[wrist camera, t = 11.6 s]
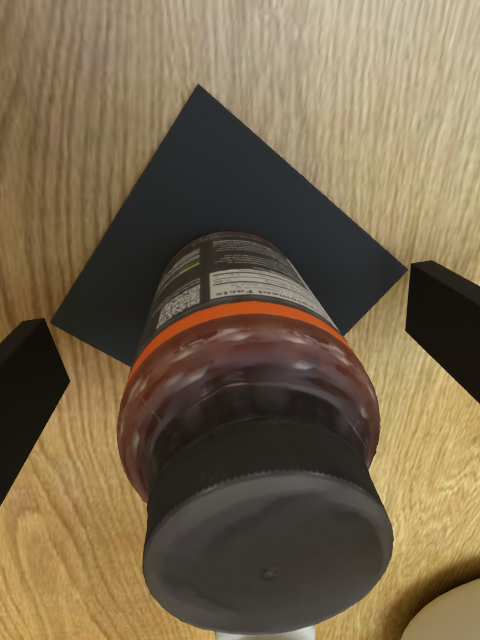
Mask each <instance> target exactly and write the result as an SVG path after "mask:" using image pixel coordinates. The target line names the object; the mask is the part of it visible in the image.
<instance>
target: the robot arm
mask: <svg viewBox="0 0 480 640" xmlns="http://www.w3.org/2000/svg"><path fill="white" fill-rule="evenodd" d="M405 331H406V332H407V333H408V334H409V335H410V336H411V337H412V338H413V339H414V340H415V341H416V342H417V343H418V344H419V345H420V346H421V347H422V348H423V349H424V350H425V351H426V352H427V353H428V354H429V355H430V356H431V357H432V358H433V359H435V360H436V361H437V362H438V363H439V364H440V365H441V366H442V367H443V368H444V369H445V370H446V371H447V372H448V373H449V374H450V375H451V376H452V377H453V378H454V379H455V380H456V381H457V382H458V383H459V384H460V385H461V386H462V387H463V388H464V389H465V390H466V391H467V392H468V393H469V394H470V395H471V396H472V397H473V398H474V399H475V400H476V401H477V402H478V403H479V404H480V286H478V285H476V284H474V283H473V282H471V281H469V280H467V279H465V278H463V277H462V276H460V275H458V274H456V273H454V272H453V271H451V270H449V269H447V268H445V267H443V266H442V265H440V264H438V263H436V262H434V261H432V260H431V261H424V262H417V263H411V269H410V281H409V292H408V304H407V315H406V327H405ZM69 383H70V379H69V377H68V374H67V372H66V369H65V367H64V365H63V362H62V360H61V357H60V355H59V352H58V350H57V348H56V345H55V343H54V340H53V338H52V335H51V333H50V330H49V328H48V326H47V323H46V321H45V318H40V319H33V320H27V321H22V322H21V323H20V324H19V325H18V326H17V327H16V328H15V329H14V330H13V331H12V332H11V333H10V334H9V335H8V336H7V337H6V338H5V339H4V340H3V341H2V342H1V343H0V506H1V504H2V502H3V500H4V499H5V497H6V495H7V493H8V492H9V490H10V488H11V486H12V484H13V483H14V481H15V479H16V477H17V476H18V474H19V472H20V470H21V468H22V467H23V465H24V463H25V461H26V460H27V458H28V456H29V454H30V452H31V451H32V449H33V447H34V445H35V443H36V442H37V440H38V438H39V436H40V435H41V433H42V431H43V429H44V427H45V426H46V424H47V422H48V420H49V419H50V417H51V415H52V413H53V411H54V410H55V408H56V406H57V404H58V403H59V401H60V399H61V397H62V395H63V394H64V392H65V390H66V388H67V387H68V385H69Z"/></svg>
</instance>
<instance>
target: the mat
mask: <svg viewBox="0 0 480 640" xmlns="http://www.w3.org/2000/svg"><path fill="white" fill-rule="evenodd" d="M223 231H234V232H244V233H249V234H252V235H255V236H258V237H260V238H262V239H264V240H266V241H268V242H270V243H271V244H273V245H274V246H275V247H276V248H278V249H279V250H280V251H281V252H282V253H283V255H284V256H285V257H286V258H287V259H288V260H289V261H290V263H291V264H292V265H293V266H294V268H295V269H296V271H297V272H298V274H299V275H300V276H301V278H302V279H303V281H304V282H305V284H306V285H307V286H308V288H309V289H310V291H311V292H312V293H313V295H314V296H315V298H316V299H317V300H318V302H319V303H320V305H321V306H322V307H323V309H324V310H325V312H326V313H327V314H328V316H329V317H330V319H331V320H332V321H333V323H334V324H335V326H336V327H337V329H338V330H339V331H340V333H341V334H342V336H343V337H344V335H345V334H346V333H347V332H348V331H349V330H350V329H351V328H352V327H353V326H354V325H355V324H356V323H357V322H358V321H359V320H360V319H361V318H362V317H363V316H364V315H365V314H366V313H367V312H368V311H369V310H370V309H371V308H372V307H373V306H374V305H375V304H376V303H377V302H378V301H379V299H380V298H381V297H382V296H383V295H384V294H385V293H386V292H387V291H388V290H389V289H390V288H391V287H392V286H393V285H394V284H395V283H396V282H397V281H398V280H399V279H400V278H401V277H402V276H403V275H404V274H405V273H406V272H407V271H408V269H407V268H406V267H405V266H403V265H402V264H401V263H400V262H399V261H398V260H397V259H396V258H394V257H393V256H392V255H391V254H390V253H389V252H388V251H387V250H385V249H384V248H383V247H382V246H381V245H380V244H379V243H377V242H376V241H375V240H374V239H373V238H372V237H371V236H370V235H368V234H367V233H366V232H365V231H364V230H363V229H362V228H361V227H359V226H358V225H357V224H356V223H355V222H354V221H353V220H351V219H350V218H349V217H348V216H347V215H346V214H345V213H344V212H342V211H341V210H340V209H339V208H338V207H337V206H336V205H335V204H333V203H332V202H331V201H330V200H329V199H328V198H327V197H325V196H324V195H323V194H322V193H321V192H320V191H319V190H318V189H316V188H315V187H314V186H313V185H312V184H311V183H310V182H309V181H307V180H306V179H305V178H304V177H303V176H302V175H301V174H299V173H298V172H297V171H296V170H295V169H294V168H293V167H292V166H290V165H289V164H288V163H287V162H286V161H285V160H284V159H283V158H281V157H280V156H279V155H278V154H277V153H276V152H275V151H273V150H272V149H271V148H270V147H269V146H268V145H267V144H266V143H264V142H263V141H262V140H261V139H260V138H259V137H258V136H257V135H255V134H254V133H253V132H252V131H251V130H250V129H249V128H247V127H246V126H245V125H244V124H243V123H242V122H241V121H240V120H238V119H237V118H236V117H235V116H234V115H233V114H232V113H231V112H229V111H228V110H227V109H226V108H225V107H224V106H223V105H222V104H220V103H219V102H218V101H217V100H216V99H215V98H214V97H212V96H211V95H210V94H209V93H208V92H207V91H206V90H205V89H203V88H202V87H201V86H200V85H199V84H198V85H197V87H196V88H195V90H194V92H193V93H192V95H191V96H190V98H189V100H188V101H187V103H186V104H185V106H184V108H183V109H182V111H181V113H180V114H179V116H178V117H177V119H176V121H175V122H174V124H173V125H172V127H171V129H170V130H169V132H168V133H167V135H166V137H165V138H164V140H163V142H162V143H161V145H160V146H159V148H158V150H157V151H156V153H155V154H154V156H153V158H152V159H151V161H150V162H149V164H148V166H147V167H146V169H145V171H144V172H143V174H142V175H141V177H140V179H139V180H138V182H137V183H136V185H135V187H134V188H133V190H132V191H131V193H130V195H129V196H128V198H127V200H126V201H125V203H124V204H123V206H122V208H121V209H120V211H119V212H118V214H117V216H116V217H115V219H114V221H113V222H112V224H111V225H110V227H109V229H108V230H107V232H106V233H105V235H104V237H103V238H102V240H101V241H100V243H99V245H98V246H97V248H96V250H95V251H94V253H93V254H92V256H91V258H90V259H89V261H88V262H87V264H86V266H85V267H84V269H83V270H82V272H81V274H80V275H79V277H78V279H77V280H76V282H75V283H74V285H73V287H72V288H71V290H70V291H69V293H68V295H67V296H66V298H65V299H64V301H63V303H62V304H61V306H60V308H59V309H58V311H57V312H56V314H55V316H54V317H53V319H52V320H51V322H50V323H51V324H53V325H54V326H56V327H58V328H60V329H62V330H64V331H65V332H67V333H69V334H71V335H73V336H75V337H77V338H78V339H80V340H82V341H84V342H86V343H88V344H89V345H91V346H93V347H95V348H97V349H99V350H101V351H102V352H104V353H106V354H108V355H110V356H112V357H113V358H115V359H117V360H119V361H121V362H123V363H125V364H126V365H128V366H130V367H131V366H132V364H133V361H134V358H135V355H136V352H137V349H138V346H139V343H140V340H141V336H142V333H143V331H144V327H145V324H146V321H147V318H148V315H149V312H150V308H151V305H152V302H153V299H154V297H155V294H156V291H157V288H158V284H159V281H160V279H161V277H162V274H163V273H164V271H165V269H166V267H167V266H168V264H169V263H170V261H171V260H172V259H173V258H174V257H175V256H176V254H177V253H178V252H179V251H180V250H181V249H182V248H184V247H185V246H186V245H188V244H190V243H191V242H192V241H194V240H196V239H198V238H200V237H203V236H206V235H209V234H211V233H216V232H223Z"/></svg>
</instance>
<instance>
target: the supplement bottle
mask: <svg viewBox="0 0 480 640" xmlns="http://www.w3.org/2000/svg"><path fill="white" fill-rule="evenodd" d="M380 421H381V420H380V413H379V406H378V400H377V396H376V393H375V389H374V386H373V385H372V383H371V381H370V378H369V376H368V375H367V373H366V371H365V369H364V367H363V365H362V364H361V362H360V361H359V359H358V358H357V356H356V355H355V353H354V352H353V350H352V349H351V348H350V346H349V345H348V343H347V341H346V340H345V338H344V337H343V336H342V334H341V333H340V331H339V330H338V329H337V327H336V326H335V324H334V323H333V321H332V320H331V319H330V317H329V316H328V314H327V313H326V312H325V310H324V309H323V307H322V306H321V305H320V303H319V302H318V300H317V299H316V298H315V296H314V295H313V293H312V292H311V291H310V289H309V288H308V286H307V285H306V284H305V282H304V281H303V279H302V278H301V276H300V275H299V274H298V272H297V271H296V269H295V268H294V266H293V265H292V264H291V263H290V261H289V260H288V259H287V258H286V257H285V256H284V255H283V253H282V252H281V251H280V250H279V249H278V248H276V247H275V246H274V245H273V244H271V243H270V242H268V241H266V240H264V239H262V238H260V237H258V236H255V235H252V234H249V233H244V232H234V231H223V232H216V233H211V234H209V235H206V236H203V237H200V238H198V239H196V240H194V241H192V242H191V243H190V244H188V245H186V246H185V247H184V248H182V249H181V250H180V251H179V252H178V253H177V254H176V256H175V257H174V258H173V259H172V260H171V261H170V263H169V264H168V266H167V267H166V269H165V271H164V273H163V274H162V277H161V279H160V281H159V284H158V288H157V291H156V294H155V297H154V299H153V302H152V305H151V308H150V312H149V315H148V318H147V321H146V324H145V327H144V331H143V333H142V336H141V340H140V343H139V346H138V349H137V352H136V355H135V358H134V361H133V364H132V366H131V370H130V374H129V377H128V380H127V383H126V386H125V390H124V393H123V397H122V400H121V404H120V411H119V417H118V424H117V442H118V449H119V454H120V459H121V463H122V466H123V469H124V472H125V474H126V476H127V478H128V480H129V481H130V483H131V484H132V486H133V487H134V489H135V490H136V491H137V493H138V494H139V496H140V497H141V498H142V500H143V501H144V502H145V503H147V512H148V519H147V532H146V538H145V544H144V551H143V565H142V569H143V574H144V578H145V582H146V585H147V586H148V589H149V591H150V594H151V595H152V596H153V597H154V598H155V599H156V600H157V602H158V603H159V604H160V605H161V606H162V607H163V608H164V609H165V610H166V611H168V612H169V613H170V614H171V615H173V616H175V617H176V618H178V619H179V620H180V621H182V622H185V623H188V624H190V625H192V626H195V627H197V628H201V629H204V630H212V631H215V632H220V633H228V634H240V635H265V634H278V633H286V632H292V631H296V630H299V629H302V628H306V627H309V626H313V625H315V624H318V623H321V622H323V621H325V620H327V619H329V618H331V617H333V616H335V615H337V614H339V613H341V612H343V611H345V610H346V609H348V608H349V607H351V606H353V605H354V604H356V603H357V602H359V601H360V600H361V599H363V598H364V597H365V596H366V595H367V594H368V593H369V592H370V591H371V590H372V589H373V588H374V586H375V585H376V584H377V582H378V581H379V580H380V579H381V577H382V575H383V574H384V573H385V571H386V569H387V566H388V564H389V561H390V559H391V556H392V550H393V541H394V537H393V530H392V525H391V522H390V520H389V518H388V515H387V513H386V511H385V508H384V505H383V504H382V502H381V500H380V497H379V495H378V494H377V491H376V489H375V487H374V484H373V482H372V480H371V478H370V474H369V470H368V469H369V468H370V465H371V463H372V460H373V457H374V456H375V454H376V448H377V445H378V441H379V434H380V428H381V427H380Z"/></svg>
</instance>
